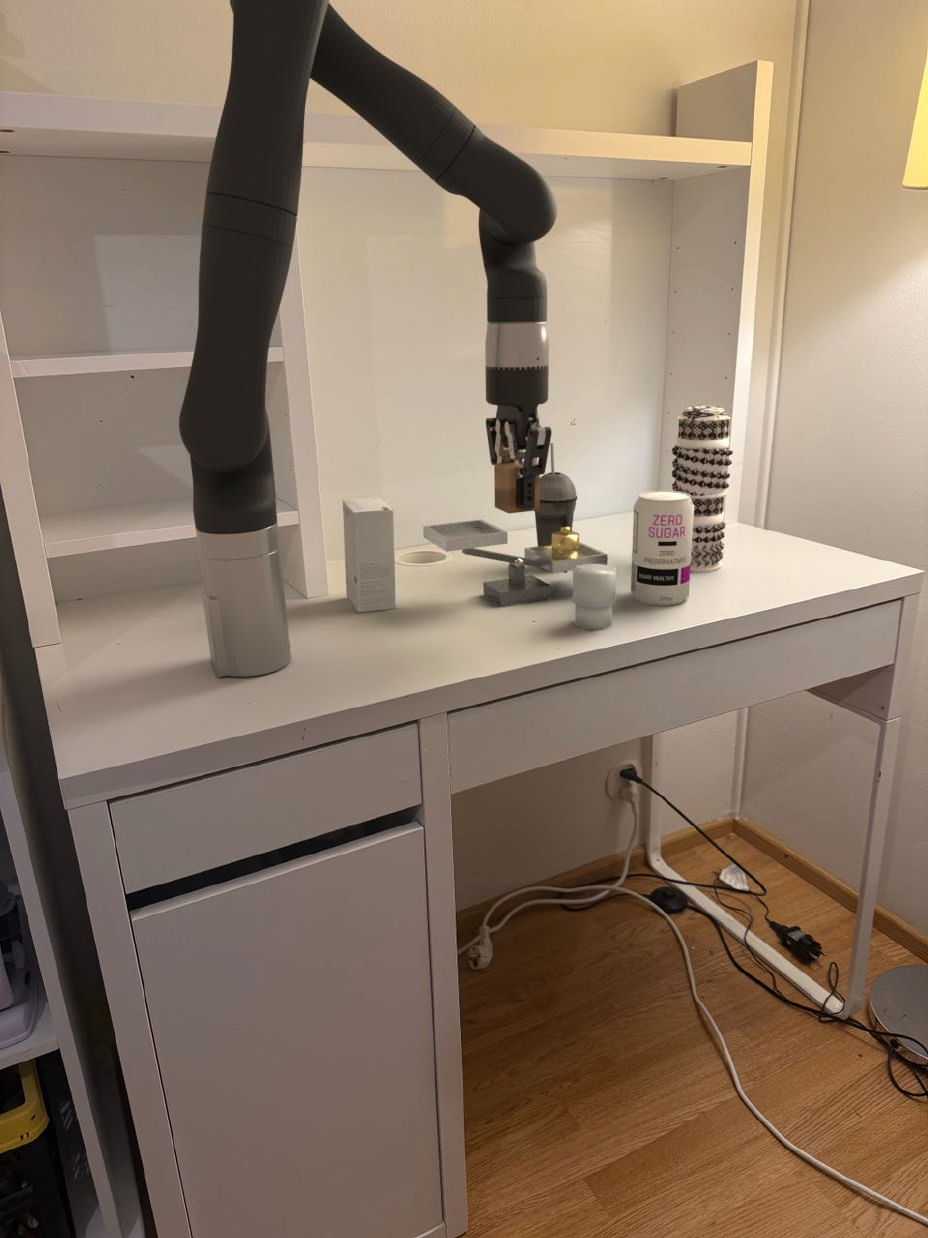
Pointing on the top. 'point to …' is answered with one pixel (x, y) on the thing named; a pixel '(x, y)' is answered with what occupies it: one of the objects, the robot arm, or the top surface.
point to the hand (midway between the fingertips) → (516, 504)
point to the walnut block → (510, 488)
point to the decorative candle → (704, 479)
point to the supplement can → (662, 547)
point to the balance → (515, 557)
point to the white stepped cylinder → (594, 595)
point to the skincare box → (369, 554)
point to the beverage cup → (554, 504)
